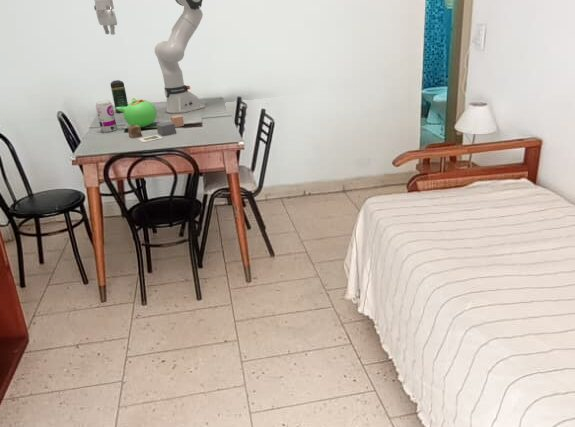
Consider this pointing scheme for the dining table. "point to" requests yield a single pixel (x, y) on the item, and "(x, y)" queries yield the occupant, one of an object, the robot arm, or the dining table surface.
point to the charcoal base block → (166, 128)
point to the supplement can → (106, 116)
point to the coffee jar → (119, 94)
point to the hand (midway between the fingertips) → (110, 34)
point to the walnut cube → (134, 131)
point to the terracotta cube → (177, 120)
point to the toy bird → (139, 113)
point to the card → (150, 138)
